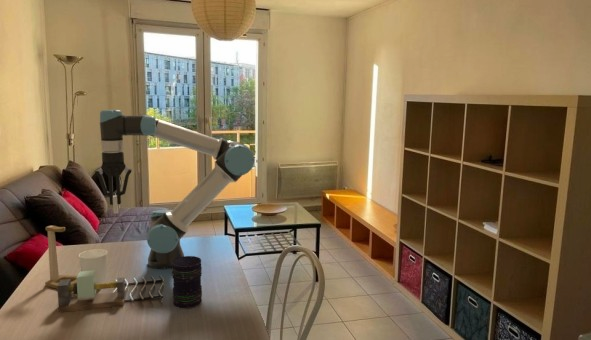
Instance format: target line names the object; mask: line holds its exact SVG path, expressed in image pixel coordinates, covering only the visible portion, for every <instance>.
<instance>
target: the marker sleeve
mask: <svg viewBox="0 0 591 340" xmlns="http://www.w3.org/2000/svg"><path fill="white" fill-rule="evenodd" d="M76 276H77V277H76V279H77V294H76V295H77V296H78V298H88V297H94V296H95V294H97V290H98V289H96V290H94V284H96V273H95V270H93V271H82V272H81V271H79V272H78V274H77V275H76Z"/></svg>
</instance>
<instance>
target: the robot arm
mask: <svg viewBox="0 0 591 340" xmlns="http://www.w3.org/2000/svg"><path fill="white" fill-rule="evenodd" d="M99 126H100V127H99V129H100V130H99V131H100V145H101V151H102V153H101V161H102V162H101V163H102V164H101V166H100V168H98V169H96V170H95V171H94V173H95V175H96V176H97V177H98V178H97V179H98V180H99V183H100V186H101V189H102V192H103V196H107V197H109V205H110V206H112V210H113V214H114V215H115V214H119V205H121V204H122V197H121V196H123V195H125V194H126V191H127V188H128V182H129V178H130V177H129V176H130V174H131V173H132V171H133V170H132V168H129V167H126V166H127V165H126V164H125V156H124V154H125V153H124V152H123V151H124V139H123V138H124V136H140V137H141V136H142V137H143V136H144V137H148V136H149V137H154V138H156V139H159V140H162V141H166V142H169V143H171V144H175V145H178V146H180V147H183V148H187V149H189V150H192V151H196V152H199V153H200V154H201V153H202V154H204V155H207V156H210V157H212V158H213V160H215V161H214V167H213V169H211V170H210V172H209V173H207V174H206V176H204V178H203V179H201V181H200V182H199V183H198V184H197V185H196V186H195V187H194V188H193V189H192V190H191V191H190V192H189V193H188V194H187V195H186V196H185V197H184V198H183V199H182V200H181V201H179V203H178V204H177V205H176V206H175V207H174V208H173V209H158V210H153V211H151V213H150V218H149V219H150V227H149V229H148V231H147V234H146V243H147V244H148V247H149V248H150V251H149V254H148V257H147V264H148V266H149V267H151V268H153V269H160V270H161V269H162V270H163V269H164V270H165V269H172V266H173V265H172V261H173V260H174V259H176V258H179V257H184V256H185V254H184V251H183V248H182V245H181V239H182V238H183V237H184V236H185V235H186V233H188V231H189V225H190V224H191V223H193V221H194V220H196V218H197V217H198V216H199V215H200V214H201V213H202V212H203V211H204V210H205V209H206V208H207V207H208V206H209V205H210V204H211V203H212V202H213V201H214V200H215V198H216V197H218V196H219V194H221V192H223V191H224V189H226V187H227V186H228V185H230V183H231V184H232V183H237V181H238V180H239V179H240V178H241V177H242V176H245V175H247V174H248V173H249V172H250V171H251V170H252V169H253V167H254V165H255V156H254V153H253V151H252V149H251V148H250V147H249V146H247V145H246V144H245V143H243V142H239V141H233V140H229V139H226V138H223V137H220V138H219V139H218V138H216V137H213V136H210V135H207V134H203V133H200V132H197V131H194V130H191V129H189V128H186V127H183V126H180V125H177V124H174V123H171V122H168V121H165V120H162V119H159V118H156V117H155V116H153V115H149V114H146V113H143V114H142V113H141V114H138V115H124V114H123V113H122V110H120V109H103V110H101V111H100V113H99ZM123 172H124V173H125V177H124V180H123V184H122V189H121V175H122V173H123ZM103 173H105V175H106V176H107V177H108V179H107V180H108V188H107V185H106V181H105V178H104V176H103ZM113 177H115V186H116V187H115V188H116V195H114V185H113V184H114V182H113V181H114V180H113Z"/></svg>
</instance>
